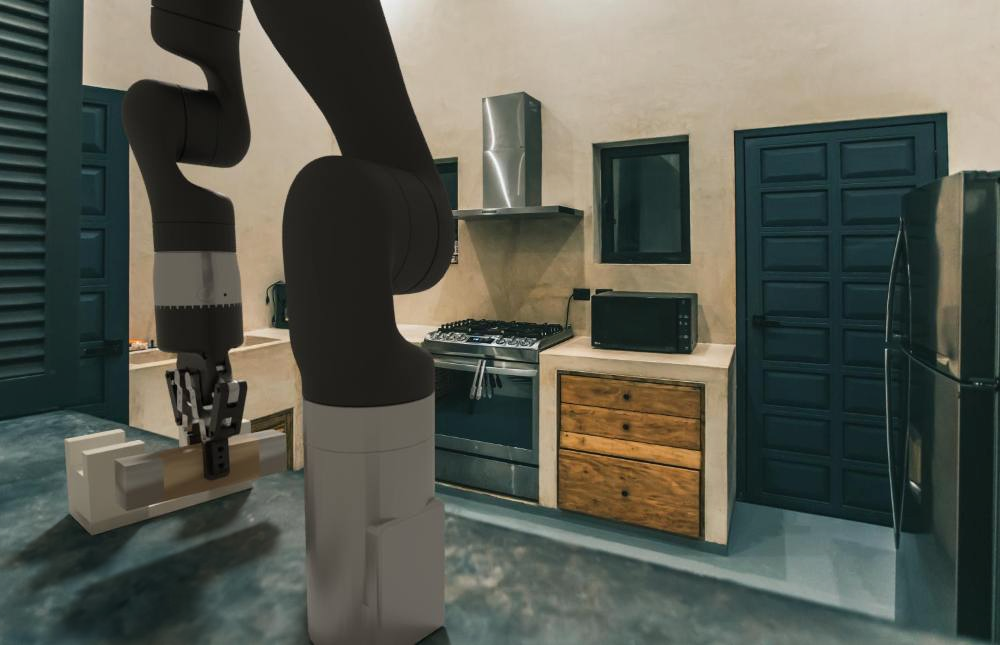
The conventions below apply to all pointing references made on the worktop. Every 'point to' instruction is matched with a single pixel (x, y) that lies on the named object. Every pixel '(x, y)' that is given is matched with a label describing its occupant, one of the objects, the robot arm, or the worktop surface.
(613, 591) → the worktop surface
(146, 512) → the white notched block
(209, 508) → the worktop surface
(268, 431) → the rail
